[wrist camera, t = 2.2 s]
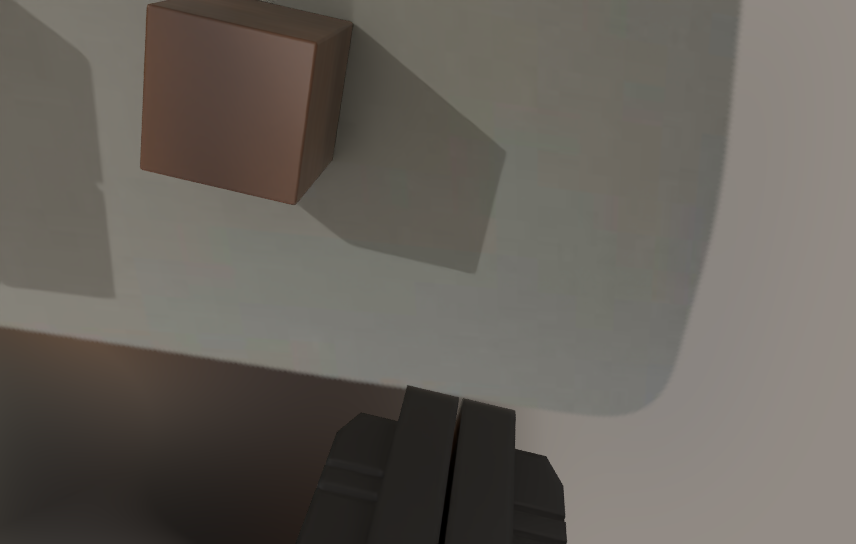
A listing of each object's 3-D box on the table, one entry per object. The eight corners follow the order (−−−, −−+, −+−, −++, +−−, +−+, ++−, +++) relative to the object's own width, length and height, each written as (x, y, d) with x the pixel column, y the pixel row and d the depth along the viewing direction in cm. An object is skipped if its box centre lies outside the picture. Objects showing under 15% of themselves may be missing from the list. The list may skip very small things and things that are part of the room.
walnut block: (353, 21, 26) (317, 42, 22) (332, 161, 28) (295, 206, 24) (211, -11, 26) (145, 3, 22) (200, 130, 28) (138, 170, 24)
